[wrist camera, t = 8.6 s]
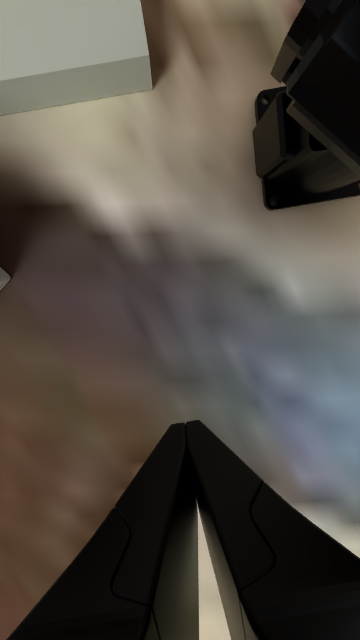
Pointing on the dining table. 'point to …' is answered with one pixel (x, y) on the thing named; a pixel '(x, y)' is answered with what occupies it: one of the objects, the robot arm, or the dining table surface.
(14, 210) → the dining table surface
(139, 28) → the board
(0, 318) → the dining table surface
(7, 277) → the light bulb box
